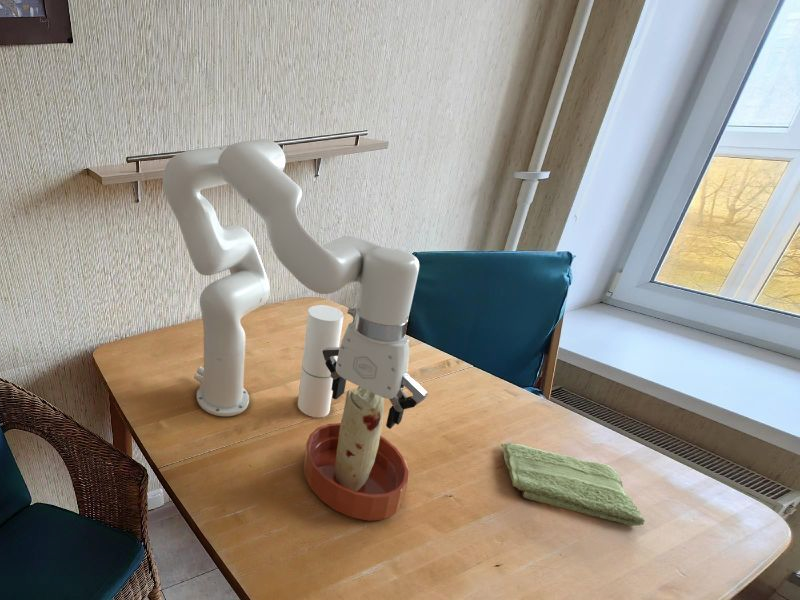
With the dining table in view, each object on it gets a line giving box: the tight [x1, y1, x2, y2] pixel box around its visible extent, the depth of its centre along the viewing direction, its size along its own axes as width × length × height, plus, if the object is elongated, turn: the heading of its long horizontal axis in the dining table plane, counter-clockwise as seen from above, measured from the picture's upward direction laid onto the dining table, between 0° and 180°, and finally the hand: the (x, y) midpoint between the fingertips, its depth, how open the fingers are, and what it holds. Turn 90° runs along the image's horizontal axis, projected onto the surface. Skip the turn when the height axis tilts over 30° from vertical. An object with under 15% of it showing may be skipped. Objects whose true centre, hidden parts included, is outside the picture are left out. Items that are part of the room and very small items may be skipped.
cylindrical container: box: [297, 304, 345, 418], centre depth 96 cm, size 7×7×25 cm
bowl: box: [303, 422, 410, 521], centre depth 80 cm, size 17×17×6 cm
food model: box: [335, 386, 385, 492], centre depth 77 cm, size 10×7×20 cm
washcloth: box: [501, 442, 646, 527], centre depth 78 cm, size 13×18×3 cm
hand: (363, 409), depth 75 cm, fingers open, 9 cm apart
